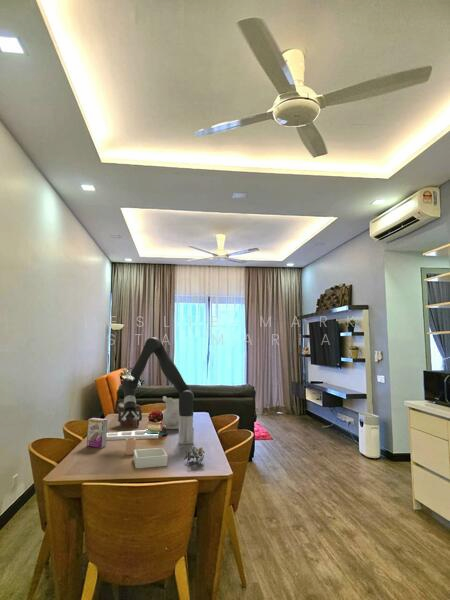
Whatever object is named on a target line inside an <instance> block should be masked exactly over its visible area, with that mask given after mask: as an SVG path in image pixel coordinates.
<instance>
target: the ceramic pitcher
mask: <svg viewBox="0 0 450 600" xmlns="http://www.w3.org/2000/svg"><path fill="white" fill-rule="evenodd" d="M162 401H163V402H165V405H166V407H165V408H164V410H162V411H161V412H162V413H163V423H162V424H163V425H165V427H164V430H166V429H169V430H179V398H172V397H167V396H166V395H164V396H162Z"/></svg>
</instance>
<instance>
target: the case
mask: <svg viewBox="0 0 450 600" xmlns="http://www.w3.org/2000/svg"><path fill="white" fill-rule="evenodd" d="M116 411H117V413H118V415H119V411H121V412H124V400H123V401H120V402H119V403H118V404H117V408H116ZM136 411H137V412H139V411H141V413H143V412H142V411H143V409H142V406H141V405H140V404H136ZM136 415H137V417H138V418H139V415H138V414H136ZM123 416H124V415H123V414H122V416H121V417H120V419H122V418H123ZM136 422H137V421H136V420H134V419H126V420H124V427H123V428H133V427H134V428H135V427H137V425H136ZM119 425H120V427H121V422H119Z"/></svg>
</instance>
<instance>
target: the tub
mask: <svg viewBox="0 0 450 600" xmlns="http://www.w3.org/2000/svg"><path fill="white" fill-rule="evenodd" d="M136 441H137V439H135V438H126V439H125V456H131V455H133V456H134V450H136Z"/></svg>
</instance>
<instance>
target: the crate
mask: <svg viewBox="0 0 450 600" xmlns="http://www.w3.org/2000/svg"><path fill="white" fill-rule="evenodd" d="M168 458H169V456H168V454H167V452H166V451H165V448H163V447H158V448H155V447H154V448H141V449H135V450H134V454H133V462H134V466H135V469H145V468H157V467H168Z"/></svg>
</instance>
